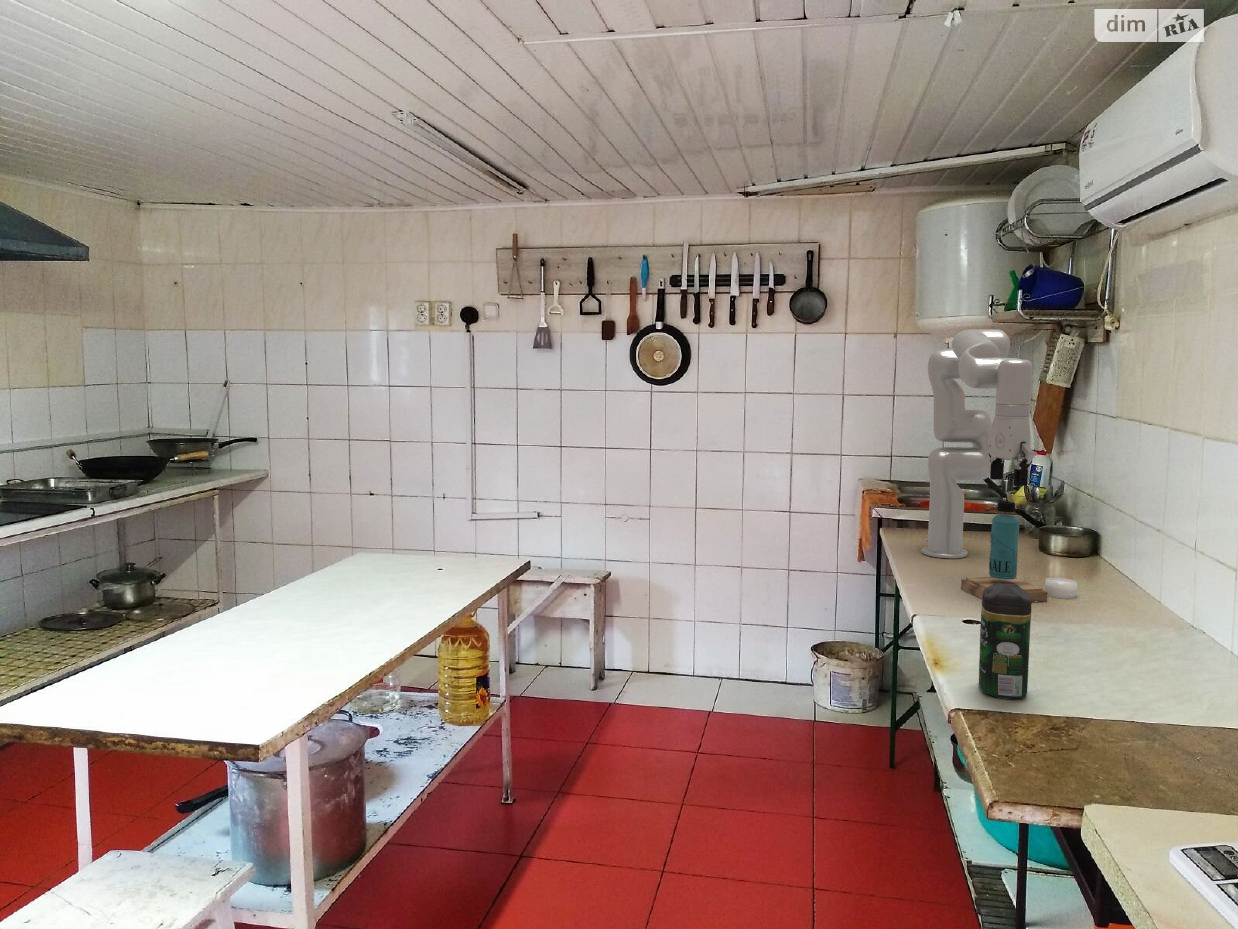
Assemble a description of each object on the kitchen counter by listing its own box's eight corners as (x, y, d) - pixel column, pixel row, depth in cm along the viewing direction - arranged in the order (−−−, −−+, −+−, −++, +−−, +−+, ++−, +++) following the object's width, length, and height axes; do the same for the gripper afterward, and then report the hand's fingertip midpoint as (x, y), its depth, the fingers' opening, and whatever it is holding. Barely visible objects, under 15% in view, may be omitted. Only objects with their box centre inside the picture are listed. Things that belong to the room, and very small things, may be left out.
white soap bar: (1039, 591, 220) (1040, 577, 219) (1068, 591, 219) (1069, 577, 219) (1052, 598, 213) (1053, 584, 212) (1081, 599, 212) (1082, 585, 212)
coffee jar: (976, 678, 160) (981, 578, 158) (1024, 683, 158) (1029, 582, 155) (978, 697, 151) (984, 591, 149) (1029, 703, 149) (1035, 596, 146)
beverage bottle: (1011, 579, 219) (1016, 499, 217) (1020, 586, 212) (1025, 504, 210) (984, 578, 220) (988, 499, 217) (992, 585, 213) (996, 503, 211)
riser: (960, 588, 222) (961, 577, 221) (1012, 586, 224) (1012, 575, 223) (992, 604, 208) (993, 591, 208) (1047, 601, 210) (1047, 589, 210)
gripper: (977, 409, 218) (974, 477, 221) (1019, 414, 201) (1015, 488, 204) (1005, 408, 220) (1001, 476, 222) (1049, 414, 203) (1044, 488, 205)
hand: (1008, 482), depth 213 cm, fingers open, 9 cm apart
